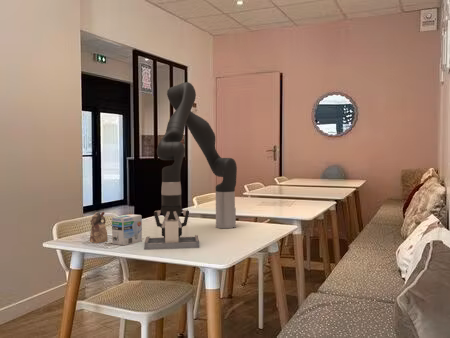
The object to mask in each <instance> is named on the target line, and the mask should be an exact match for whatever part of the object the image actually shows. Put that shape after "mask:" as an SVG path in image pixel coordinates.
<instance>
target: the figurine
mask: <svg viewBox="0 0 450 338" xmlns="http://www.w3.org/2000/svg"><path fill="white" fill-rule="evenodd" d="M105 214H106V212H104V211H102V212H101V213H100V212H99V211H98V212H95V213H94V214H93V215H92V217H91V220H90V221H89V222H90V226H91V229H90V236H89V241H90V242H94V243H93V244H100V243H99V242H103V243H106V242H107V241H108V231H107V227H106V225H105V224H106V220H107V219H106V217H104V215H105ZM102 220H103V222H102ZM105 241H106V242H105ZM90 242H89V243H90Z"/></svg>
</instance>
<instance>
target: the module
mask: <svg viewBox="0 0 450 338" xmlns="http://www.w3.org/2000/svg"><path fill="white" fill-rule="evenodd" d="M178 230H179V226H178V221H176V220H172V219H171V220H167V221H165V243H174V242H179V237H178Z"/></svg>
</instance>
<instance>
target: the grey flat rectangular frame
mask: <svg viewBox="0 0 450 338" xmlns="http://www.w3.org/2000/svg"><path fill="white" fill-rule="evenodd" d="M143 246H144V250H164V249H165V250H169V249H195V248H196V249H199V248H200V238H199V235H198V234H195V235H193V236H180V237H179V242H174V243H165V238H164V236H162V237H150V236H146V237H145V240H144V242H143Z"/></svg>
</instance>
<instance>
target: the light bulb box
mask: <svg viewBox="0 0 450 338" xmlns="http://www.w3.org/2000/svg"><path fill="white" fill-rule="evenodd" d="M142 217H143V216H142V215H141V214H133V213H129V214H128V213H127V214H124V215H118V216H112V217H111V239H112V241H111V242H112V245H113V244H114V245H119V246H127V245H128V246H129V245H131V244H135V243H139V242H140V243H141V242H142V241H143V230H142V229H143V228H142V227H143V222H142V221H143V218H142Z"/></svg>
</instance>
